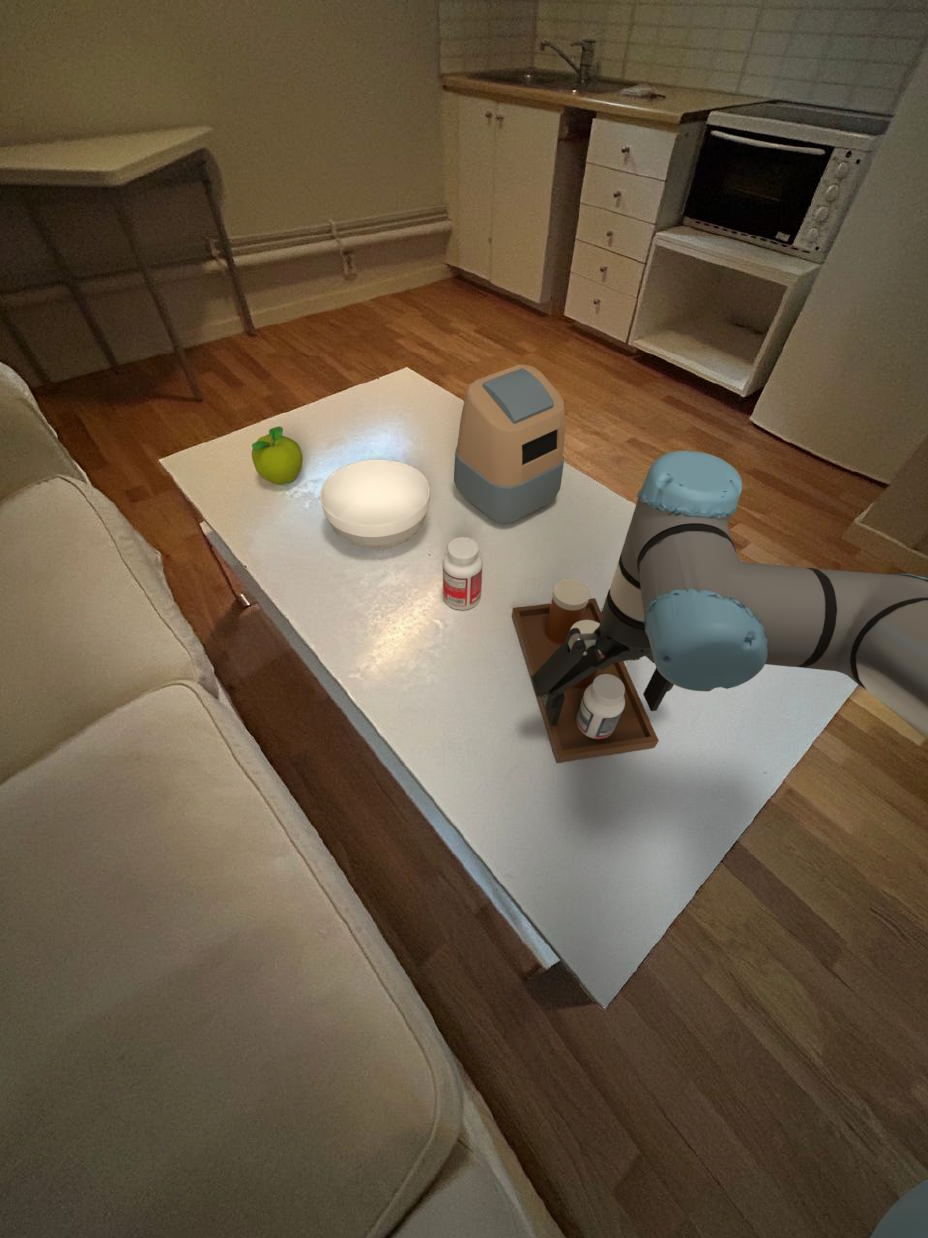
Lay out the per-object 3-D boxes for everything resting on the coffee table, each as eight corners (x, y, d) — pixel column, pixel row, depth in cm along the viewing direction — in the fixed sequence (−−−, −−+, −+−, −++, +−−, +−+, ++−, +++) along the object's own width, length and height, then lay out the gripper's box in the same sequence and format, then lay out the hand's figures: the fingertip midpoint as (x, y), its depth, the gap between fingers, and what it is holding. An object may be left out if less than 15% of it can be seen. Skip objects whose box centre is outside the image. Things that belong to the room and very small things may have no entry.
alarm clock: (501, 537, 99) (513, 419, 81) (445, 492, 107) (445, 377, 89) (565, 502, 106) (588, 387, 88) (508, 463, 114) (519, 350, 96)
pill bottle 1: (474, 580, 91) (476, 530, 83) (485, 606, 88) (489, 556, 79) (438, 588, 90) (437, 537, 82) (448, 614, 86) (448, 564, 78)
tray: (654, 748, 72) (659, 740, 70) (556, 763, 70) (558, 756, 69) (592, 606, 88) (595, 598, 87) (511, 616, 87) (512, 607, 85)
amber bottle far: (582, 642, 83) (595, 602, 76) (549, 647, 82) (559, 606, 75) (572, 617, 86) (583, 576, 79) (540, 621, 85) (549, 580, 78)
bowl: (408, 488, 108) (406, 449, 101) (448, 547, 97) (448, 507, 90) (315, 513, 102) (306, 473, 95) (346, 577, 91) (338, 538, 85)
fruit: (250, 487, 107) (235, 442, 99) (278, 462, 112) (265, 417, 105) (289, 499, 105) (277, 453, 97) (316, 473, 110) (306, 428, 103)
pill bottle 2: (618, 715, 75) (635, 678, 68) (608, 746, 71) (625, 711, 65) (581, 700, 76) (594, 663, 69) (570, 730, 73) (582, 695, 66)
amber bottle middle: (600, 686, 78) (615, 647, 71) (565, 691, 77) (576, 652, 70) (588, 657, 81) (601, 617, 74) (555, 662, 80) (565, 622, 73)
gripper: (739, 561, 59) (677, 673, 75) (517, 586, 56) (502, 698, 72) (777, 612, 54) (702, 720, 70) (536, 642, 51) (515, 749, 67)
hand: (600, 709), depth 71 cm, fingers open, 13 cm apart
